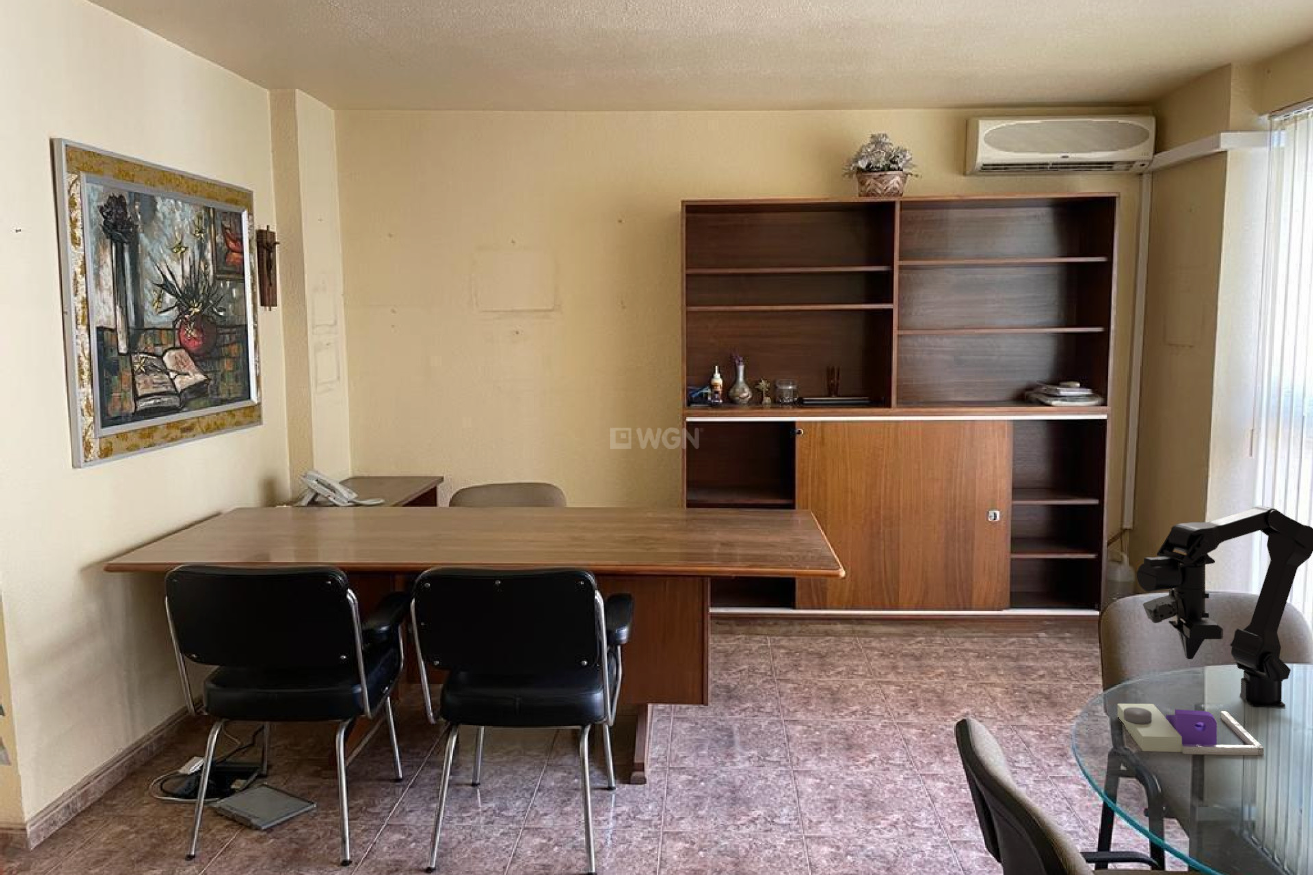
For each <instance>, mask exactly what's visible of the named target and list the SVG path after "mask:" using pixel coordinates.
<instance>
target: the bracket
mask: <svg viewBox="0 0 1313 875" xmlns="http://www.w3.org/2000/svg"><path fill="white" fill-rule="evenodd" d="M1165 718H1166V719H1167V720H1168V721H1169V723H1170V724H1171V725H1172V726H1173V727H1174V728H1175V730H1176V731H1177V732H1178V733H1179V734H1180V735H1181V737H1182V744H1193V745H1218V744H1217V741H1218V739H1217V737H1218V735H1217V733H1218V732H1217V730H1218V726H1217V725H1218V724H1217V720H1216V719H1215V717H1214V715H1213V714H1212V713H1211V712H1208V711H1205V710H1189V709H1180V708H1179V709H1176V708H1175V709H1174V714H1166V715H1165Z"/></svg>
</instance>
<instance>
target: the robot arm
mask: <svg viewBox="0 0 1313 875" xmlns="http://www.w3.org/2000/svg"><path fill="white" fill-rule="evenodd" d="M1258 531H1260V532H1261V533H1263V535H1265V536H1267V543H1266V547H1267V552H1268V556H1269V558H1270V559H1269V564H1268V566H1267V567H1268V568H1267V570H1266V573H1265V576H1264V579H1263V583H1262V586H1261V589H1260V592H1259V596H1258V598H1257V602H1256V604H1255V607H1254V611H1253V614H1252V617H1251V620H1250V623H1249V624H1248V625H1247V626H1246V627H1244V628H1243V629H1242V628H1236V630H1234V636H1233V639H1232V642H1231V643H1230V645H1229V646H1230V647H1231V650H1230V652H1231V653H1230V654H1231V656H1232V658H1233V660H1234V661H1235V664H1236V667H1237V669H1239V670H1242V671H1243V677H1242V678H1240V693H1239V697H1241V698H1242V699H1243V700H1244V701H1245V702H1246V703H1247V704H1249V705H1250V706H1251V707H1255V708H1259V707H1260V708H1285V707H1286V704H1285V703H1284V702H1283V700H1282V695H1283V693H1282V692H1283V691H1282V689H1283V681H1284V680H1288V679H1289V677H1290V675H1291V671H1292V669H1291V668H1290V667H1289V666H1288V665H1287V664H1286V663H1285V662H1284V661H1283V660H1282V659H1281V658H1280V657H1281V656H1280V654H1281V649H1282V647H1281V646H1282V645H1281V642H1280V639H1279V635H1278V630H1279V627H1280V623H1281V621H1282V619H1283V615H1284V611H1285V609H1286V605H1287V602H1288V599H1289V596H1290V593H1291V589H1292V586H1293V584H1294V580H1295V577H1296V574H1297V571H1298V569H1299V567H1300V566H1301V565H1302V564H1304V563H1306V561H1308V560H1309V559H1310V558H1311V556H1312V555H1313V527H1312V526H1310V525H1307V524H1303V523H1302V522H1298V520H1295V519H1293V518H1290V517H1289V516H1288V515H1285V514H1284V513H1282V512H1281V511H1279V510H1278V509H1277V508H1274V507H1273V508H1272V507H1269V506H1263V505H1257V506H1253V507H1252V508H1251V509H1247V510H1244V511H1240V512H1237V513H1234V514H1231V515H1227V516H1224V517H1221V518H1218V519H1214V520H1211V521H1205V522H1192V521H1191V522H1181V523H1176V524H1174V525H1173V526H1172V527H1171V528H1170V531H1169V534H1168V535H1167V537H1166V538H1165V540H1164V541H1163V543H1162V545H1160V547H1159V549H1158V551H1157V553H1156V556H1157V557H1150V556H1148V557H1144V559H1143V563H1141V564H1140V565H1139V567H1138V569H1137V571H1136V579H1137V582H1138V584H1139V586H1140V588H1141V589H1142V590H1144V591H1145V592H1149V593H1150V592H1157V591H1165V590H1168V595H1165V596H1161V597H1157V598H1154V599H1152V600H1149V601H1146V602H1143V603H1142V607H1143V609H1144V611H1145V614H1146V616H1147V618H1148V619H1149V620H1150V621H1151V622H1152V623H1154V624H1159V623H1162V621H1165V620H1168V619H1170V618H1172V620H1169V621H1168V624H1170V625H1171V626H1172V627H1173V628H1174V630H1176V631H1177V632H1178V635H1179V638H1180V642H1181V646H1182V650H1183V653H1184V657H1185V658H1186V659H1187V660H1193V659H1194V657H1195V655H1196V654H1197V653H1198V650H1199V649H1200V647H1201V646H1202V644H1203V642H1204V641H1205V640H1223V639H1224V629H1223V628H1222V626H1220V625H1219V624H1218V623H1216V622H1215V621H1214V620H1212V619H1209V618H1210V612H1208V611H1207V610H1206V599H1210V593H1209V592H1207V590H1206V565H1213V564H1215V563H1216V560H1215V559H1214V558H1212V557H1211V556H1210V555H1209V553H1211V552H1213V551H1215V550H1216V549H1218V547H1219V545H1220V544H1222V543H1224V542H1226V541H1230V540H1233V539H1236V538H1237V539H1238V538H1239V537H1242V536H1247V535H1250V534H1253V533H1255V532H1258ZM1176 551H1177V552H1176ZM1180 552H1181V553H1180ZM1207 618H1208V619H1207Z"/></svg>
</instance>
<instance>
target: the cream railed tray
mask: <svg viewBox="0 0 1313 875" xmlns="http://www.w3.org/2000/svg"><path fill="white" fill-rule="evenodd" d="M1118 717H1119V719H1120V720H1121V721H1122V722H1123V723H1124V725H1125V727H1126V728H1127V729H1126V728H1125V727H1124V728H1125V729H1126V730H1128V731H1127V732H1128V734H1131V735H1130V736H1131V737H1132V739H1133V740H1134V741H1135V742H1136V744H1137V745H1138V747H1139V748H1140V750H1141V751H1142V752H1165V753H1166V752H1169V753H1170V752H1171V753H1172V752H1173V753H1174V752H1179V753H1182V754H1183V755H1218V756H1219V755H1221V756H1224V755H1225V756H1264V753H1265V750H1264V749H1265V748H1264V747H1263V745H1262V744H1260V742H1258V740H1256V738H1255V737H1253V736H1252V735H1251V734H1250V733H1249V732H1248V731H1247V730H1246V729H1245V727H1243V726H1242V725H1241V724H1240V723H1239V722H1238V721H1237V720H1236V719H1235V718H1234V717H1233V716H1231V715H1230V713H1229V712H1228V711H1220V719H1221V720H1222V721H1223V722H1224V723H1225V724H1226V725H1227V726H1228V727H1229V728H1230V729H1231V730H1232V731H1233V732H1234V733H1235V734H1236V735H1237V736H1238V737H1239V738H1240V739H1241V740H1242V741H1243V742H1244V743H1245V744H1240V745H1239V744H1217V745H1193V744H1182V737H1181V735H1180V734H1179V733H1178V732H1177V731H1176V730H1175V728H1174V727H1173V726H1172V725H1171V724H1170V723H1169V721H1168V720H1167V719H1166V716H1164V714H1163V713H1162V712H1161V711H1160V710H1159V708H1158V707H1156V705H1155V704H1154V703H1117V718H1118ZM1119 719H1118V720H1119ZM1120 720H1119V721H1120ZM1121 721H1120V722H1121ZM1124 725H1123V726H1124Z"/></svg>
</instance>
